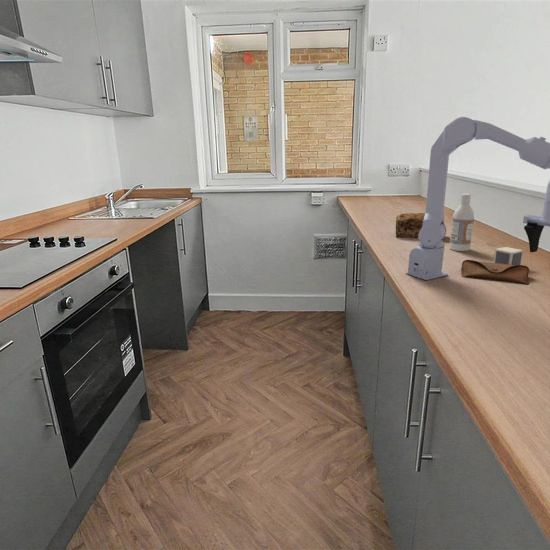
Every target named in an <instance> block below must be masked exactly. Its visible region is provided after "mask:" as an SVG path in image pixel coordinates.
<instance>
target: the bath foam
mask: <svg viewBox="0 0 550 550" xmlns="http://www.w3.org/2000/svg"><path fill="white" fill-rule="evenodd" d="M470 203H471V194H470V193H462V194H461V196H460V204H459V205H458V206H457V208H456V209H455V211H454V212H453V214H452V220H451V231H450V236H449V237H450V239H449V245H448V247H449V249H450V250H452V251H455V252H468V251H470V250H471V249H470V248H471V244H472V237H473V229H474V221H475V215H474V211H473V208H472V207H471V205H470Z"/></svg>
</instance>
